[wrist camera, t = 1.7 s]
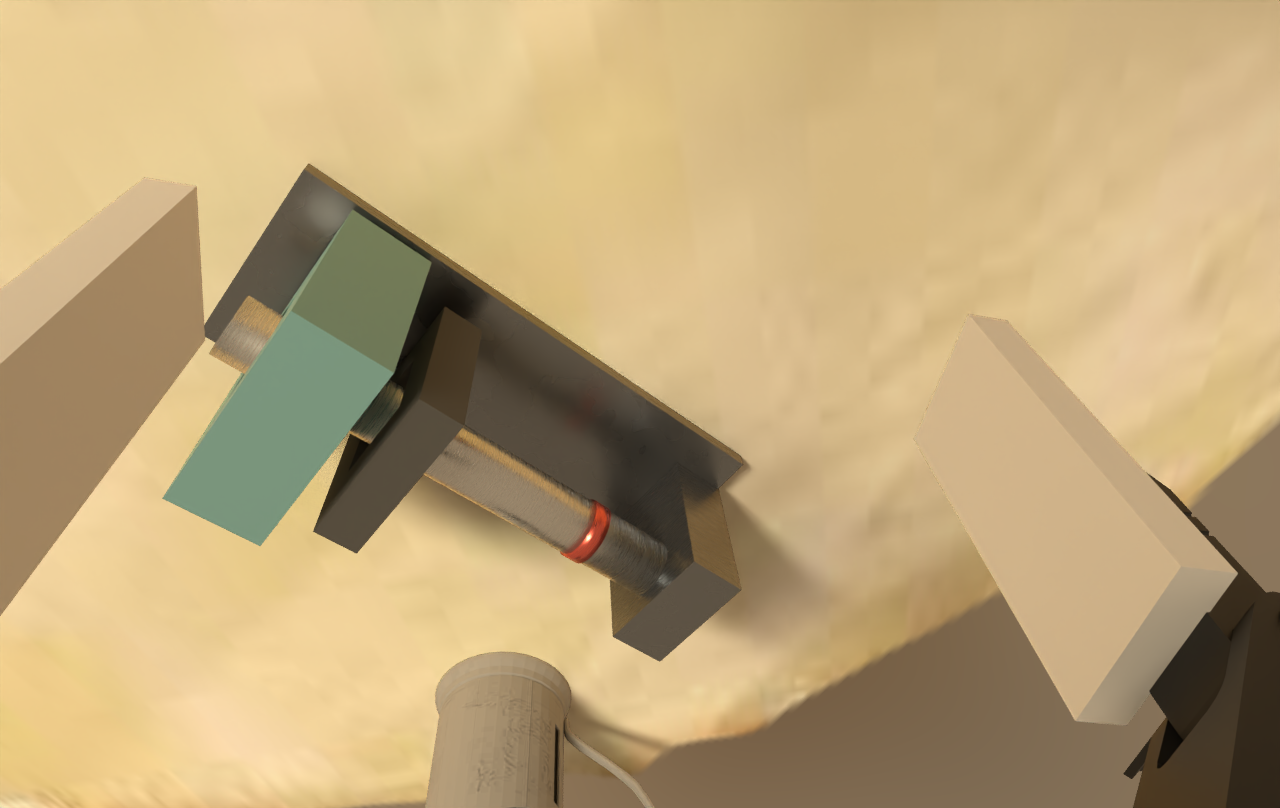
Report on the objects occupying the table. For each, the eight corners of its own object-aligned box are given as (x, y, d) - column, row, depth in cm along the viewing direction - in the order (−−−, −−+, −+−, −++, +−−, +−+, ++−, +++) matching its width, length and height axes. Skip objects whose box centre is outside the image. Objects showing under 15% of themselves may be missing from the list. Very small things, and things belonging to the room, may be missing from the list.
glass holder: (430, 652, 55) (388, 892, 43) (658, 650, 57) (683, 883, 44) (439, 744, 60) (403, 985, 47) (649, 740, 61) (670, 974, 48)
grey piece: (205, 325, 43) (128, 424, 35) (308, 163, 39) (247, 236, 32) (625, 566, 53) (634, 683, 45) (740, 456, 49) (770, 564, 42)
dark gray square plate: (353, 424, 43) (313, 531, 37) (445, 306, 40) (419, 398, 34) (389, 444, 44) (356, 553, 37) (482, 330, 41) (464, 425, 34)
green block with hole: (244, 368, 42) (162, 498, 34) (352, 209, 39) (290, 311, 30) (320, 411, 44) (260, 546, 35) (431, 262, 40) (394, 373, 32)
